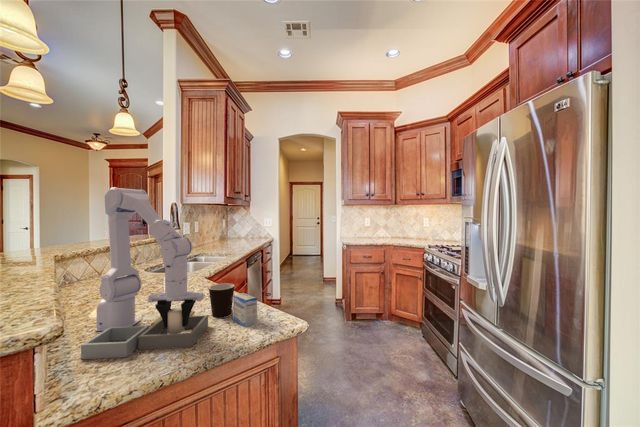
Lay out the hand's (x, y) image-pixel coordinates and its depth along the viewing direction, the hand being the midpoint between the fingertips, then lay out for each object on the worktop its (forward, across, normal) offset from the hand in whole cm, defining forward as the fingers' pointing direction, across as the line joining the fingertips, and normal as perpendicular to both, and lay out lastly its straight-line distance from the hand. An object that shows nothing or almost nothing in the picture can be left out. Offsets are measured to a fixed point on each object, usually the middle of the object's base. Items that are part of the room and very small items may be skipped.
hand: (176, 325), depth 79 cm
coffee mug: (+3, +9, +18) cm, 21 cm away
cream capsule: (+1, 0, 0) cm, 1 cm away
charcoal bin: (+3, 0, 0) cm, 3 cm away
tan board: (+3, -7, +15) cm, 17 cm away
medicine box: (+3, +18, +9) cm, 20 cm away
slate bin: (+3, -13, -5) cm, 14 cm away
